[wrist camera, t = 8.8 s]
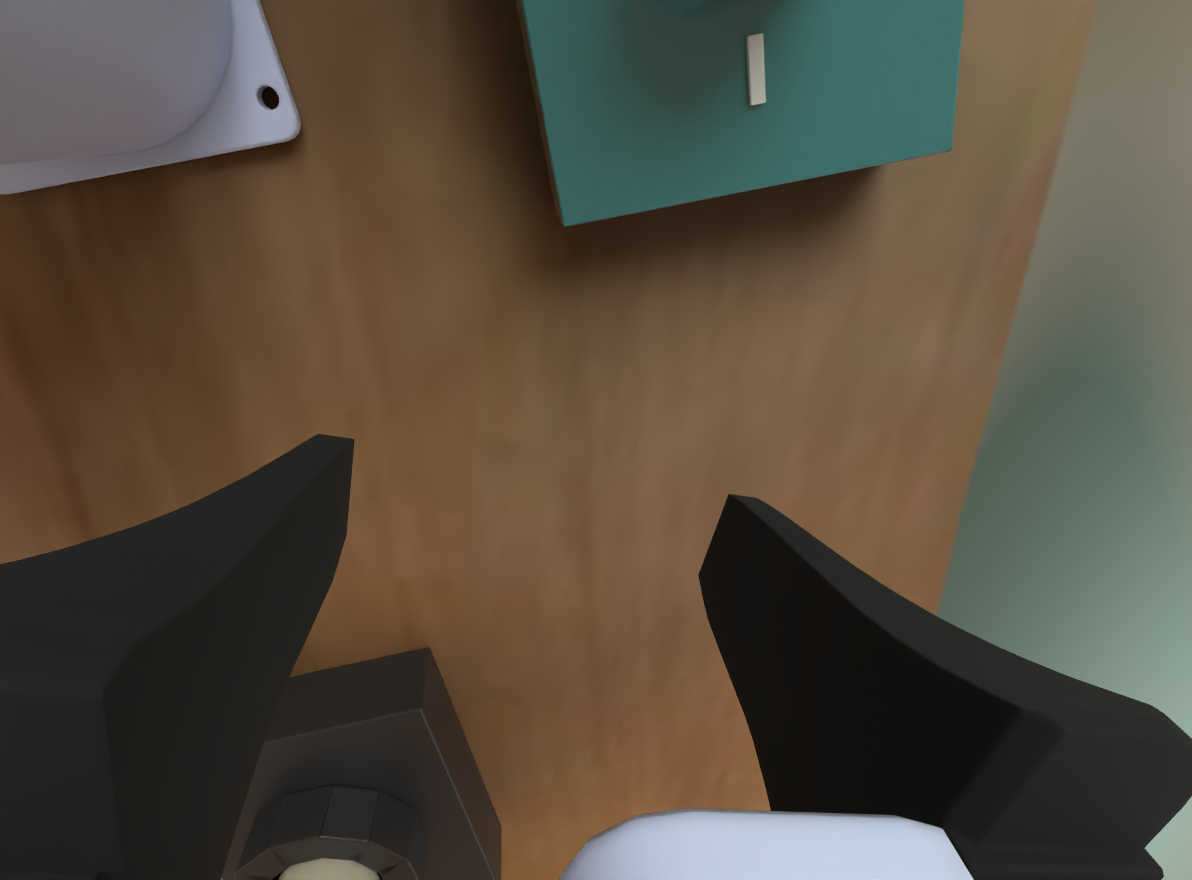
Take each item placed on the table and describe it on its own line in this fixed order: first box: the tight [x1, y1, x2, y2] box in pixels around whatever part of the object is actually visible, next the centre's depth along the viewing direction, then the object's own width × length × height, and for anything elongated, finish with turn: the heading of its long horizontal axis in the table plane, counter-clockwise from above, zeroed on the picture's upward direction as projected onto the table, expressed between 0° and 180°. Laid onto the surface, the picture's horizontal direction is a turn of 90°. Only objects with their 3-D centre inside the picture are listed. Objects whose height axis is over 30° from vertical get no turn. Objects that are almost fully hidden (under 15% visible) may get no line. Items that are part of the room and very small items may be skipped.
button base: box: [222, 648, 501, 880], centre depth 26 cm, size 12×10×5 cm
